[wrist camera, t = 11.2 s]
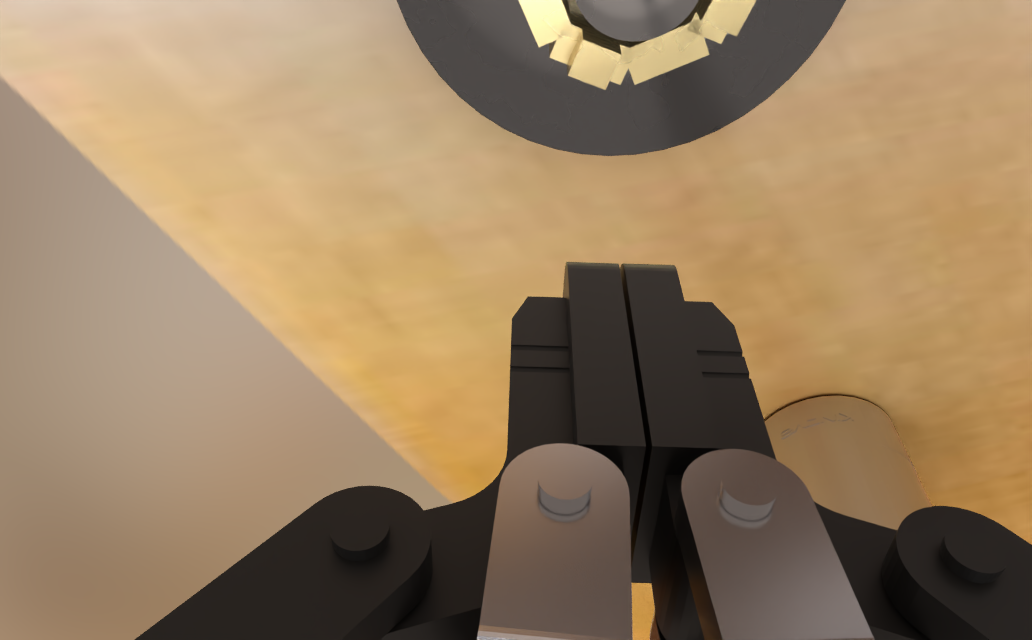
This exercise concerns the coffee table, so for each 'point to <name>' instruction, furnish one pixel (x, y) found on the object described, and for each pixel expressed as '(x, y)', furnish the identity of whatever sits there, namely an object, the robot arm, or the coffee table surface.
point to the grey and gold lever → (610, 58)
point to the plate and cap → (620, 108)
